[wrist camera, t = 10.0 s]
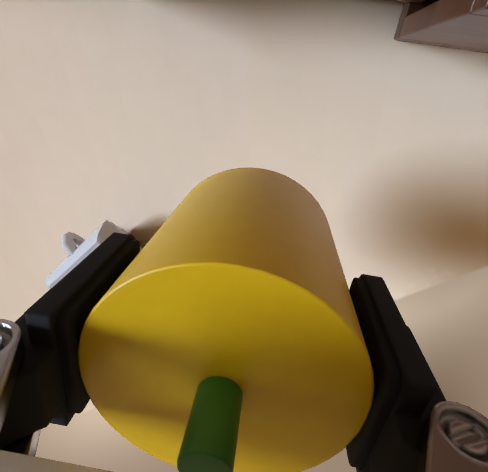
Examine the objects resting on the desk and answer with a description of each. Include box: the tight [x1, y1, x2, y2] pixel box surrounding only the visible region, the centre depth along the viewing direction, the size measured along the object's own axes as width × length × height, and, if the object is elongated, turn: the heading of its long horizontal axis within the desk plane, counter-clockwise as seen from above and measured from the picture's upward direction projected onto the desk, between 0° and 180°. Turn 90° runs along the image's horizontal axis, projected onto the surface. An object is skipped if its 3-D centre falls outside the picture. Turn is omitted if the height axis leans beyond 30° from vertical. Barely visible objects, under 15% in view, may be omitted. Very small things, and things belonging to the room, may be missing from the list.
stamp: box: [45, 220, 143, 288], centre depth 21 cm, size 9×7×8 cm
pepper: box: [78, 168, 374, 472], centre depth 10 cm, size 6×6×9 cm
